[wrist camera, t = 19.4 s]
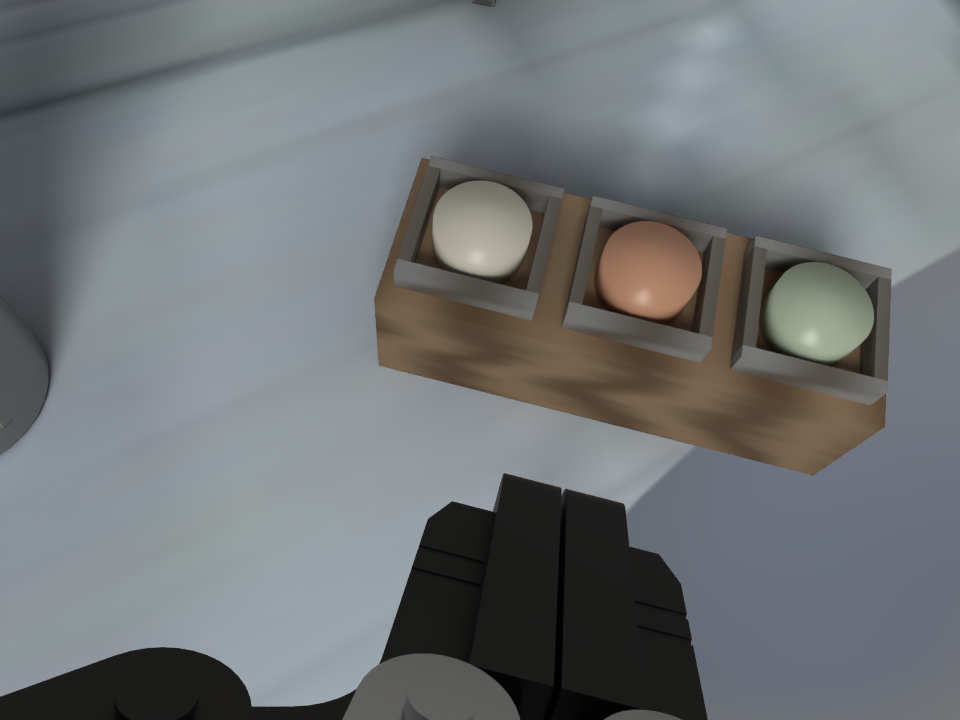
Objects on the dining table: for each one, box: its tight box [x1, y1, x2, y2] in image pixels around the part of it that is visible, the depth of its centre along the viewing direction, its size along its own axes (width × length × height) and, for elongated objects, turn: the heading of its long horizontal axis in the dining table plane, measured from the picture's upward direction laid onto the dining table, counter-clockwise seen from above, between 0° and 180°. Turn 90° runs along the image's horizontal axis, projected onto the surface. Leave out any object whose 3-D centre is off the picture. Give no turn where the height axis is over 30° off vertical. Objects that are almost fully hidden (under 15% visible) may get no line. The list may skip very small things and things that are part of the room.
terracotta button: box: [594, 221, 702, 325], centre depth 40 cm, size 5×5×2 cm
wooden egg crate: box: [374, 156, 892, 475], centre depth 43 cm, size 24×8×9 cm, turn 76°
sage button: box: [759, 262, 874, 367], centre depth 40 cm, size 5×5×2 cm
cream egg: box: [432, 181, 532, 284], centre depth 40 cm, size 5×5×2 cm
